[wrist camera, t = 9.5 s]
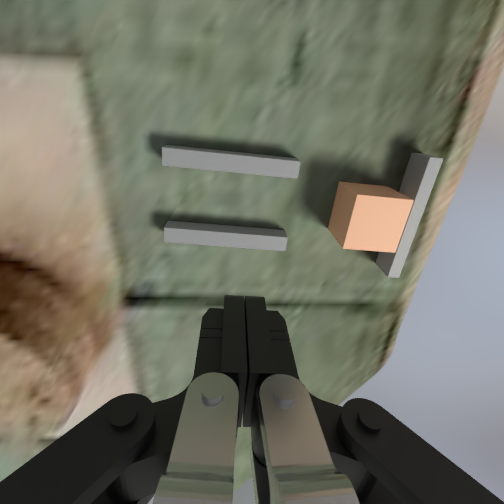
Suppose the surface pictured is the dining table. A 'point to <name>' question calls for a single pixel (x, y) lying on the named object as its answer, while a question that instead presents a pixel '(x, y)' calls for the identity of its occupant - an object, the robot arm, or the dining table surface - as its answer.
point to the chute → (227, 163)
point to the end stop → (417, 188)
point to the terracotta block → (369, 217)
